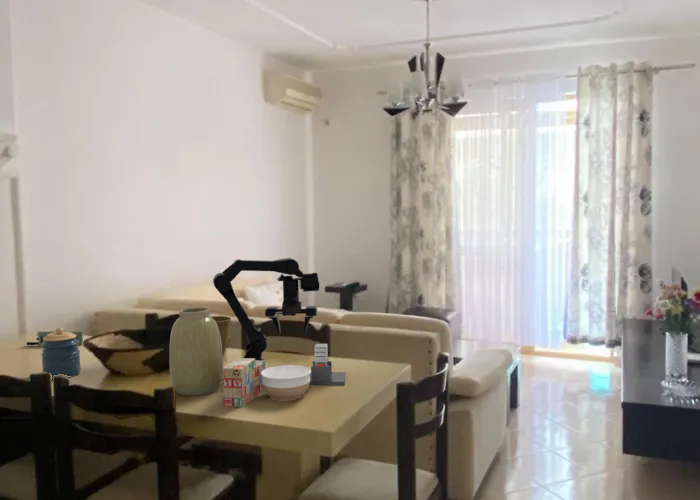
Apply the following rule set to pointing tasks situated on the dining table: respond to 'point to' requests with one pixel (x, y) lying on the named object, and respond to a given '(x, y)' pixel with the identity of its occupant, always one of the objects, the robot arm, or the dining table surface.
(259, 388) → the stack of blocks
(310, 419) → the dining table surface
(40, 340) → the handheld radio
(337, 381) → the grey stepped stand
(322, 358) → the column
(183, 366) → the vase
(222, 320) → the plant pot
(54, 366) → the canister
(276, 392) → the bowl
